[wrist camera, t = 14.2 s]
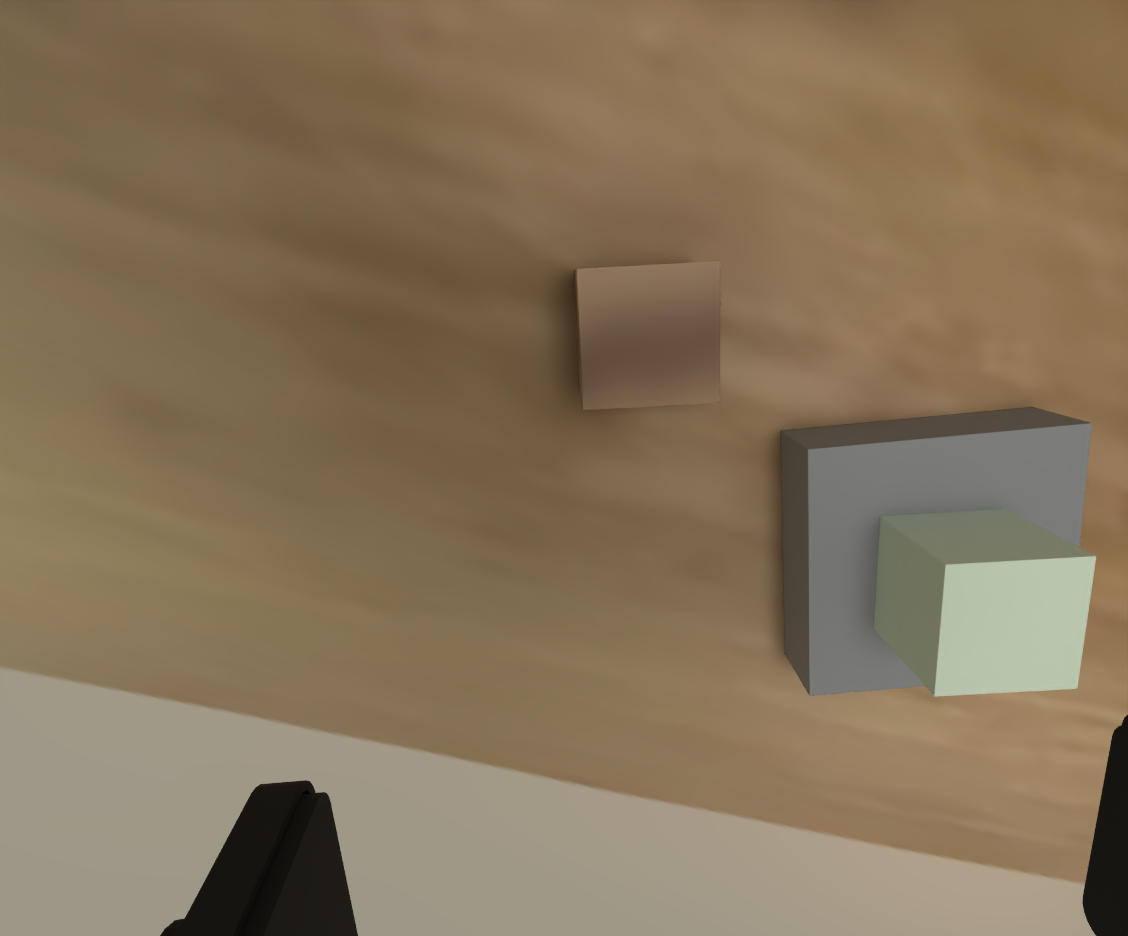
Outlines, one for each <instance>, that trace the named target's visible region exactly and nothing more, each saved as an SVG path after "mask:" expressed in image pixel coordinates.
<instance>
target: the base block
mask: <svg viewBox="0 0 1128 936" xmlns="http://www.w3.org/2000/svg"><path fill="white" fill-rule="evenodd" d="M1091 426H1092V423H1089V422H1086V421H1082V420H1078V419H1075V418H1071V417H1067V416H1064V415H1060V414H1056V413H1053V412H1049V411H1045V410H1042V409H1038V408H1034V407H1026V408H1016V409H1005V410H995V411H984V412H973V413H963V414H952V415H941V416H931V417H920V418H909V419H899V420H888V421H877V422H867V423H856V424H845V425H835V426H824V427H814V428H803V429H792V430H782V431H781V468H782V529H783V589H784V650H785V655H786V657H787V658H788V660H789V662H790V664H791V665H792V667H793V669H794V670H795V672H796V674H797V675H798V677H799V679H800V680H801V682H802V684H803V685H804V687H805V689H806V690H807V692H808V694H809V696H813V695H825V694H837V693H849V692H860V691H872V690H884V689H895V688H907V687H919V686H925V685H924V684H923V683H922V682H921V681H920V680H919V679H918V678H917V676H916V675H915V674H914V673H913V672H912V671H911V670H910V669H909V668H908V666H907V665H906V664H905V663H904V662H903V661H902V660H901V659H900V657H899V656H898V655H897V654H896V653H895V652H894V651H893V650H892V648H891V647H890V646H889V645H888V644H887V643H886V642H885V641H884V640H883V638H882V637H881V636H880V635H879V634H878V633H877V632H876V631H875V629H874V616H875V600H876V583H877V566H878V549H879V532H880V516H892V515H909V514H926V513H944V512H961V511H978V510H996V509H1006V510H1008V511H1010V512H1012V513H1014V514H1016V515H1018V516H1020V517H1022V518H1024V519H1026V520H1028V521H1030V522H1031V523H1033V524H1035V525H1037V526H1039V527H1041V528H1043V529H1045V530H1047V531H1049V532H1051V533H1053V534H1055V535H1057V536H1058V537H1060V538H1062V539H1064V540H1066V541H1068V542H1070V543H1072V544H1074V545H1076V546H1078V547H1080V537H1081V526H1082V516H1083V506H1084V496H1085V486H1086V476H1087V466H1088V456H1089V446H1090V436H1091Z"/></svg>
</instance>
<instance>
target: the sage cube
mask: <svg viewBox="0 0 1128 936" xmlns="http://www.w3.org/2000/svg"><path fill="white" fill-rule="evenodd" d="M1095 561H1096V556H1095V555H1093V554H1091V553H1089V552H1087V551H1085V550H1083V549H1082V548H1080V547H1078V546H1076V545H1074V544H1072V543H1070V542H1068V541H1066V540H1064V539H1062V538H1060V537H1058V536H1057V535H1055V534H1053V533H1051V532H1049V531H1047V530H1045V529H1043V528H1041V527H1039V526H1037V525H1035V524H1033V523H1031V522H1030V521H1028V520H1026V519H1024V518H1022V517H1020V516H1018V515H1016V514H1014V513H1012V512H1010V511H1008V510H1006V509H996V510H978V511H961V512H944V513H926V514H909V515H892V516H880V532H879V549H878V566H877V583H876V600H875V616H874V629H875V631H876V632H877V633H878V634H879V635H880V636H881V637H882V638H883V640H884V641H885V642H886V643H887V644H888V645H889V646H890V647H891V648H892V650H893V651H894V652H895V653H896V654H897V655H898V656H899V657H900V659H901V660H902V661H903V662H904V663H905V664H906V665H907V666H908V668H909V669H910V670H911V671H912V672H913V673H914V674H915V675H916V676H917V678H918V679H919V680H920V681H921V682H922V683H923V684H924V685H925V687H926V688H927V689H928V690H929V691H930V692H931V693H932V694H933V696H952V695H970V694H988V693H1006V692H1025V691H1043V690H1061V689H1077V686H1078V679H1079V672H1080V665H1081V658H1082V651H1083V644H1084V637H1085V631H1086V624H1087V617H1088V610H1089V603H1090V596H1091V589H1092V582H1093V575H1094V568H1095Z"/></svg>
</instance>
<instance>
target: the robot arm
mask: <svg viewBox="0 0 1128 936" xmlns="http://www.w3.org/2000/svg"><path fill="white" fill-rule="evenodd" d="M1083 908H1084V913H1085V915H1086V918H1087V921H1088V923H1089V925H1090V927H1091V929H1092V930H1093V932H1094V933H1095V935H1096V936H1128V715H1127V716H1126V717H1125V718H1124V720H1123V723H1122V725H1121V726H1118V727H1117V728H1116V729H1115V730H1114V733H1113V736H1112V740H1111V746H1110V751H1109V757H1108V762H1107V768H1106V773H1105V779H1104V784H1103V789H1102V795H1101V800H1100V806H1099V811H1098V817H1097V822H1096V828H1095V833H1094V839H1093V844H1092V850H1091V855H1090V861H1089V866H1088V872H1087V877H1086V883H1085V888H1084V894H1083ZM160 936H358V934H357V929H356V924H355V920H354V915H353V910H352V905H351V900H350V895H349V890H348V885H347V881H346V875H345V870H344V866H343V861H342V856H341V851H340V846H339V841H338V836H337V831H336V826H335V822H334V817H333V812H332V807H331V802H330V799H329V796H328V795H327V793H324V792H323V793H315V790H314V787H313V785H312V784H311V783H310V781H295V782H283V783H271V784H260V785H259V786H257V787H256V788H255V789H254V791H253V792H252V793H251V795H250V797H249V799H248V801H247V803H246V804H245V806H244V808H243V811H242V812H241V814H240V816H239V818H238V820H237V821H236V823H235V825H234V827H233V829H232V831H231V833H230V835H229V836H228V838H227V840H226V842H225V844H224V846H223V848H222V850H221V852H220V853H219V855H218V857H217V859H216V861H215V863H214V865H213V867H212V868H211V870H210V872H209V874H208V876H207V878H206V880H205V882H204V883H203V885H202V887H201V889H200V891H199V893H198V895H197V897H196V898H195V900H194V902H193V904H192V906H191V908H190V910H189V912H188V914H187V915H186V917H185V919H180V920H175V921H174V922H173V923H171V924H170V925H169V926H168V927H167V928H165V929H164V931H163V932H162V934H161V935H160Z"/></svg>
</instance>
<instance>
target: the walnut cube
mask: <svg viewBox="0 0 1128 936" xmlns="http://www.w3.org/2000/svg"><path fill="white" fill-rule="evenodd" d="M574 280H575V301H576V322H577V343H578V364H579V385H580V394H581V400H582V406H583V410H597V409H616V408H635V407H654V406H672V405H691V404H710V403H720V261H710V262H692V263H674V264H656V265H638V266H620V267H601V268H583V269H576V270H574Z"/></svg>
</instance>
